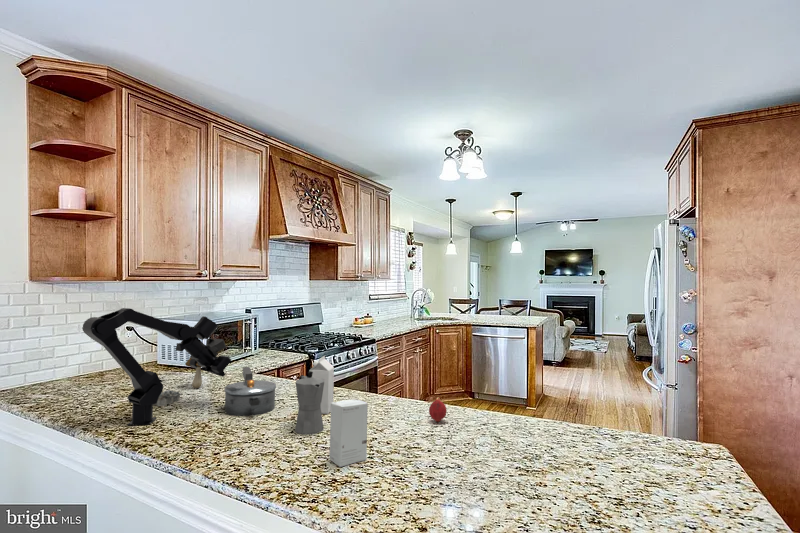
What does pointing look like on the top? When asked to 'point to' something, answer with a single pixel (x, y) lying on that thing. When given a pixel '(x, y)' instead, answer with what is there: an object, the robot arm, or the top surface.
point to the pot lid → (249, 385)
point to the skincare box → (348, 432)
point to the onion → (437, 410)
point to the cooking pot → (249, 404)
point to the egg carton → (168, 397)
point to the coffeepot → (309, 404)
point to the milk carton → (325, 382)
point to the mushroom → (196, 375)
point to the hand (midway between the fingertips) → (223, 375)
